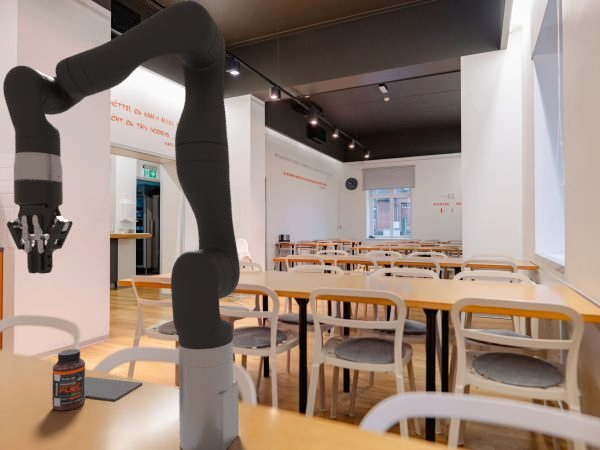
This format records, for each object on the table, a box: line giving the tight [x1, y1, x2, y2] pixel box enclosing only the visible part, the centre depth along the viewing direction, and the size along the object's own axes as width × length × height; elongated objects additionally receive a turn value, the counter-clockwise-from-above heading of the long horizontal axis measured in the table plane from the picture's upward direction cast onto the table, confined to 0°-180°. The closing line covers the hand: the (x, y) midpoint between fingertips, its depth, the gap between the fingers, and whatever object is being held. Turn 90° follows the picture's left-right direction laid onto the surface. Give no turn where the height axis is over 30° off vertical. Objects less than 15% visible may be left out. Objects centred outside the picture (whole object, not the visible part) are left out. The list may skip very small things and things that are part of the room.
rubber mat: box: [85, 376, 143, 402], centre depth 90 cm, size 16×9×1 cm, turn 75°
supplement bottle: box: [51, 348, 86, 412], centre depth 82 cm, size 6×6×11 cm
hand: (40, 272), depth 73 cm, fingers closed
